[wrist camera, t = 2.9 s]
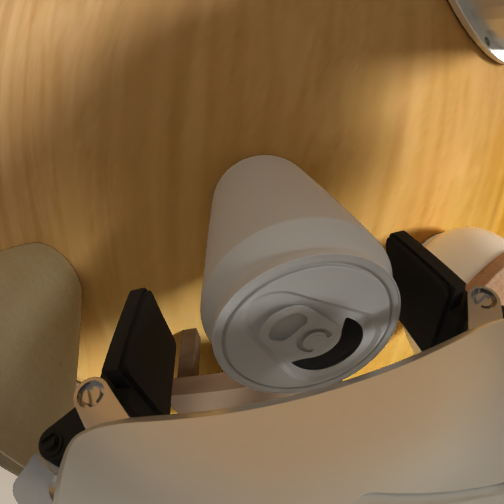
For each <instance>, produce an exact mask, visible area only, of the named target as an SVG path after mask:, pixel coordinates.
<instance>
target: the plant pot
mask: <svg viewBox="0 0 504 504" xmlns="http://www.w3.org/2000/svg"><path fill="white" fill-rule="evenodd" d="M81 309H82V288H81V284H80V281H79V278H78V276H77V274H76V272H75V270H74V269H73V267H72V266H71V264H70V263H69V262H68V261H67V259H66V258H65V257H64V256H63V255H62V254H60V253H59V252H58V251H57V250H55V249H54V248H52V247H50V246H48V245H45V244H42V243H30V244H25V245H20V246H16V247H12V248H8V249H5V250H1V251H0V466H1V467H3V468H4V469H6V470H8V471H9V472H11V473H13V474H15V475H16V476H19V475H20V473H21V472H22V470H23V469H24V468H25V466H26V465H27V463H28V462H29V461H30V459H31V458H32V456H33V455H34V454H35V452H36V453H37V454H38V455H39V453H40V452H39V448H38V447H39V440H40V437H41V435H42V433H43V432H44V431H45V430H46V429H48V428H49V427H50V426H52V425H53V424H54V423H55V422H57V421H58V420H59V419H60V418H62V417H63V416H64V415H66V414H67V413H68V412H69V411H71V410H72V409H73V408H74V401H73V397H74V393H75V390H76V380H77V367H78V354H79V342H80V326H81Z"/></svg>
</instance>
